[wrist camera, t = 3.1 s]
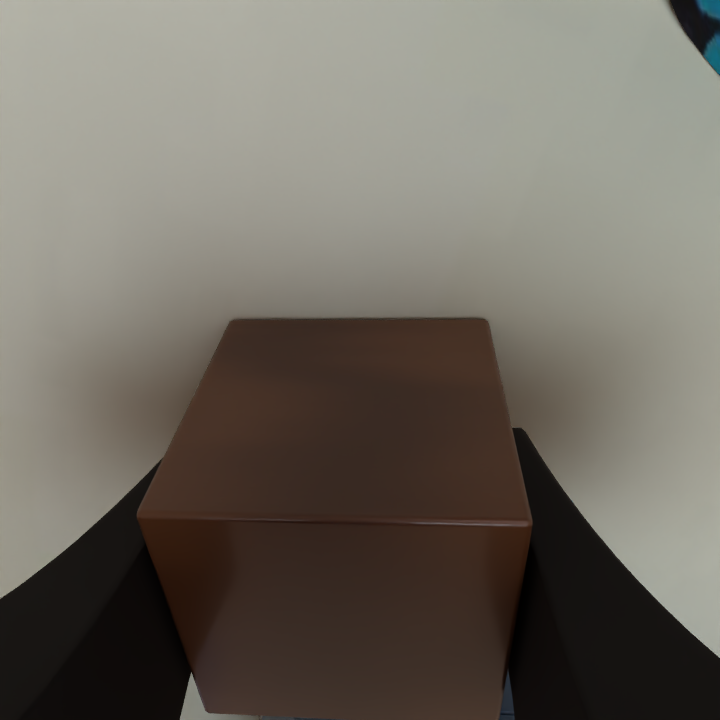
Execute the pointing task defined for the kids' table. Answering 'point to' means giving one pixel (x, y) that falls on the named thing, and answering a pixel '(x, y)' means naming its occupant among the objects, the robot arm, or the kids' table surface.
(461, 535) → the block
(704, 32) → the decorative butterfly
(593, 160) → the kids' table surface
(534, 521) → the robot arm
